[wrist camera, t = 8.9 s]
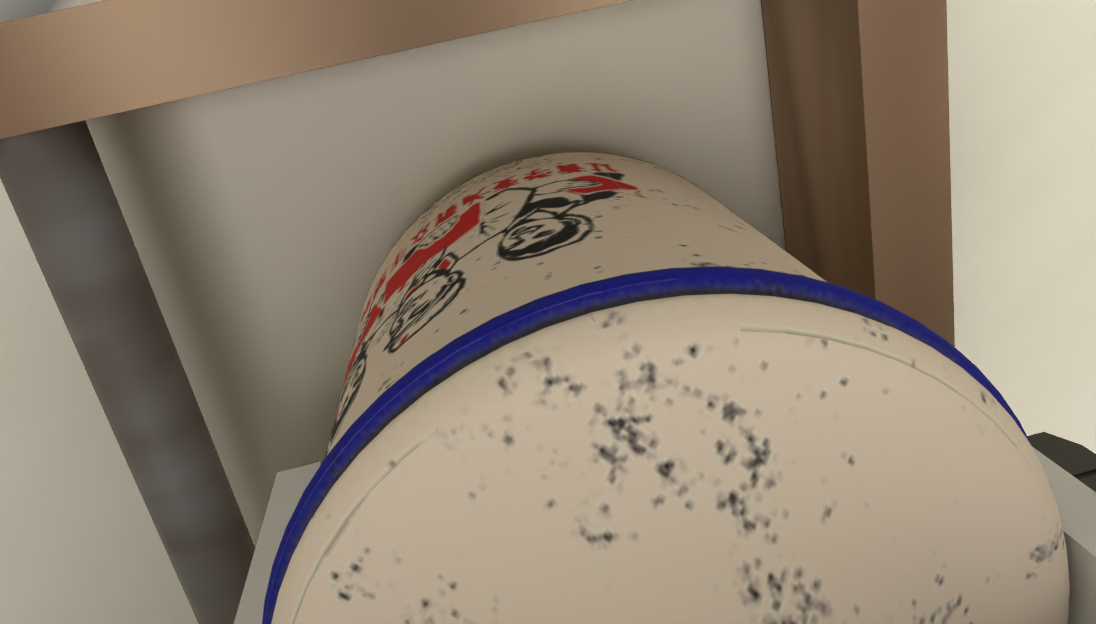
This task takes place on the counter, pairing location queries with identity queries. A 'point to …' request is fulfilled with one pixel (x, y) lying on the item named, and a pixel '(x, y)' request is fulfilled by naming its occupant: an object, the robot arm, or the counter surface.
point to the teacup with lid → (654, 432)
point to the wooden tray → (391, 26)
